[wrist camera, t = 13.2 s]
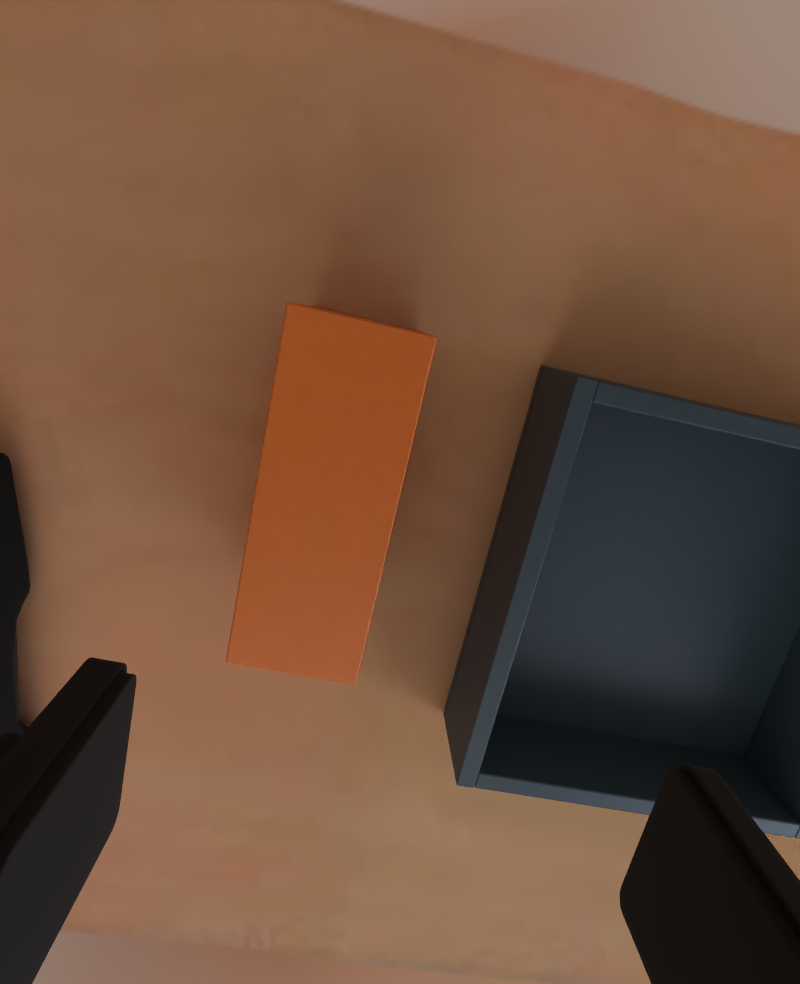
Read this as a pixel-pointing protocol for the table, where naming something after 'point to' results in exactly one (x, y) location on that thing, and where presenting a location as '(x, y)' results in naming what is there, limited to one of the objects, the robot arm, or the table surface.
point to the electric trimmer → (10, 597)
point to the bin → (637, 606)
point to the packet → (327, 491)
